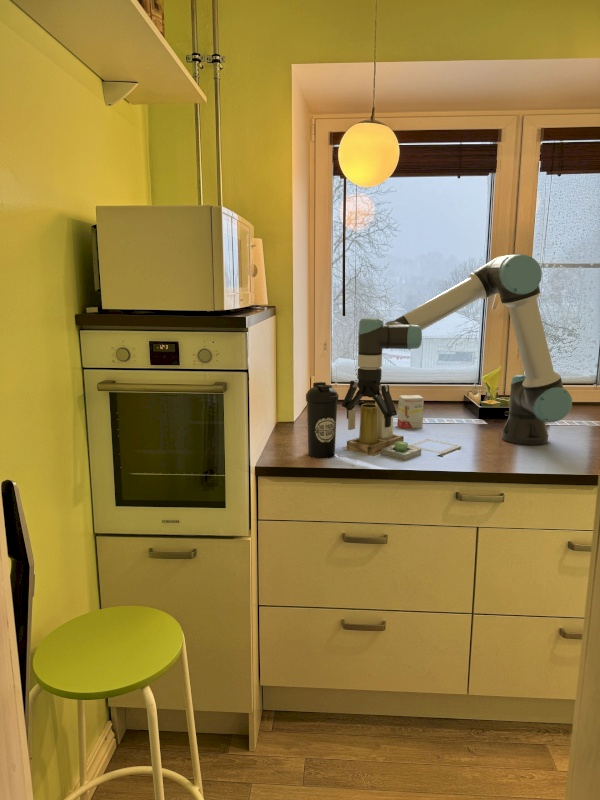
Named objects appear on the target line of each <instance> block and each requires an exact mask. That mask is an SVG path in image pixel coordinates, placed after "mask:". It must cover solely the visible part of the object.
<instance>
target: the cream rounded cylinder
mask: <svg viewBox="0 0 600 800" xmlns="http://www.w3.org/2000/svg"><path fill="white" fill-rule="evenodd" d="M374 402H375V404H374V405H377V403H376V401H374ZM393 404H394V405H395V403H394V402H393ZM382 417H384V415H383V413H382V411H381V410H380V408H379V406H378V405H377V439H381V440H389V439H393V434H394V416H392V417H391V426H390V427H389V436H388V437H385V438H382V437H381V435H382Z"/></svg>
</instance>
